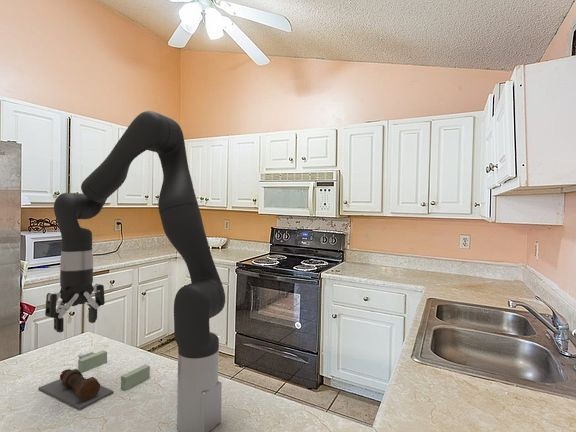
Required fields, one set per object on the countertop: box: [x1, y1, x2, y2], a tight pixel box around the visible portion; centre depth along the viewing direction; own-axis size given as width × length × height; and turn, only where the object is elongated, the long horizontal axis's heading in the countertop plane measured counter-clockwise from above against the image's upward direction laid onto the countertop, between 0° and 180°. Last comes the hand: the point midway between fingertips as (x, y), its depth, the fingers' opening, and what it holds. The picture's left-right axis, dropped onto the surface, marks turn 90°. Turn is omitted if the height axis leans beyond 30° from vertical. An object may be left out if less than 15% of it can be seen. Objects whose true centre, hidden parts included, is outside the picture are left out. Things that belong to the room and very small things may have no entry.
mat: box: [37, 378, 115, 411], centre depth 90 cm, size 19×9×1 cm, turn 62°
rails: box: [77, 349, 151, 391], centre depth 101 cm, size 28×8×4 cm, turn 62°
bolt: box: [59, 368, 102, 402], centre depth 90 cm, size 6×5×15 cm
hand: (76, 326), depth 90 cm, fingers open, 8 cm apart
